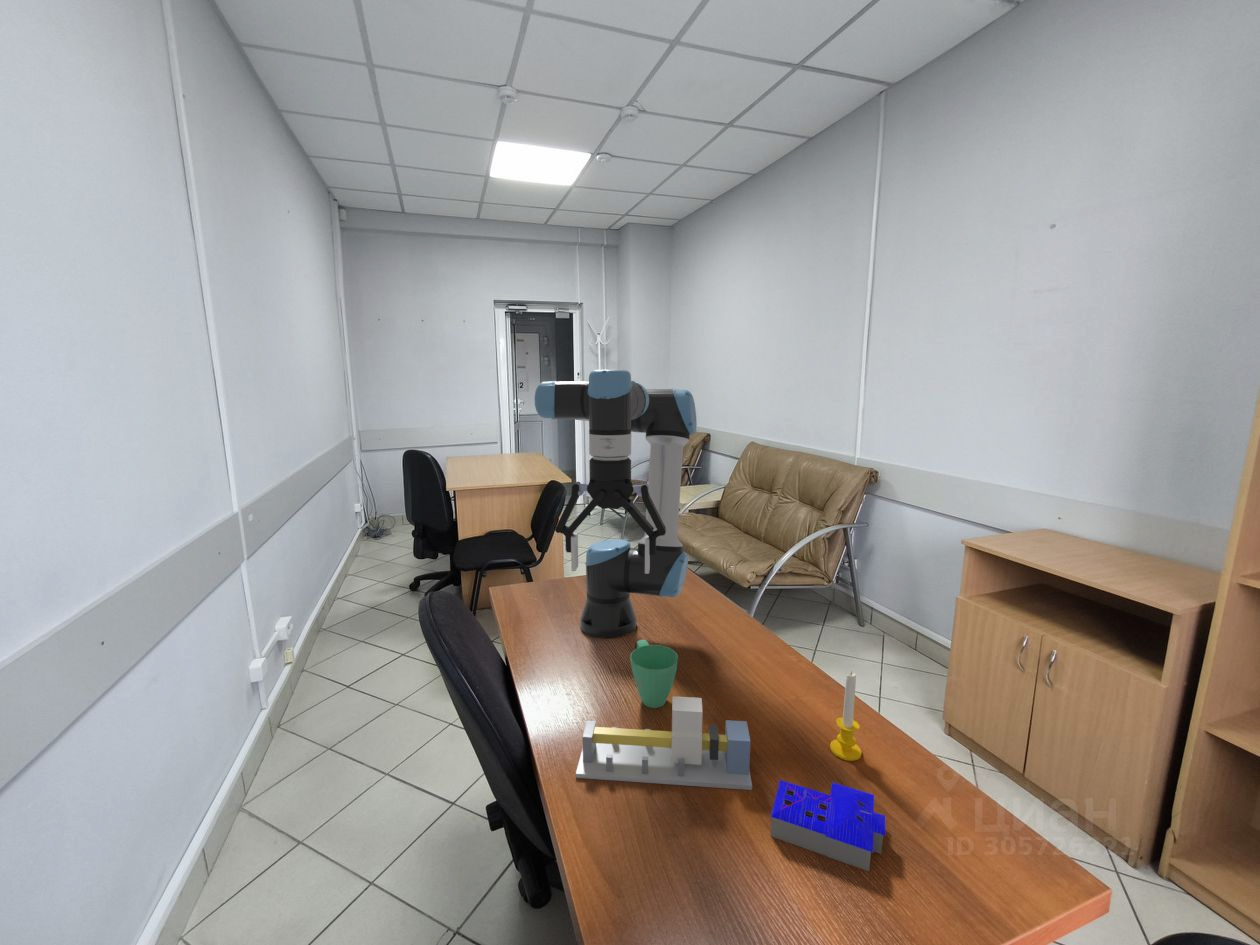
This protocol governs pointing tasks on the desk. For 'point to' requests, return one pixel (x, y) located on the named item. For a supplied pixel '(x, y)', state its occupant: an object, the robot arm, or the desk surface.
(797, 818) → the house
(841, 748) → the candle
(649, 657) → the mug
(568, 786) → the desk surface
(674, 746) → the sleeve
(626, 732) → the comb rig
